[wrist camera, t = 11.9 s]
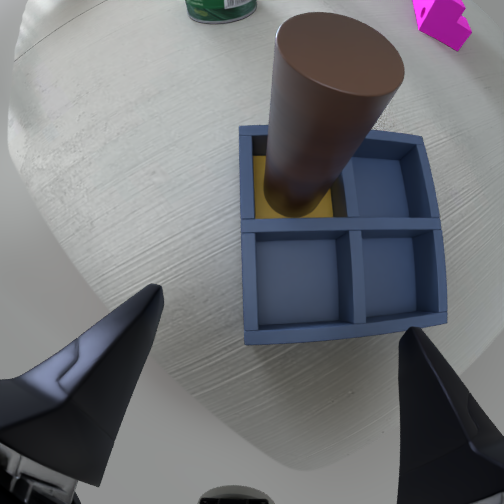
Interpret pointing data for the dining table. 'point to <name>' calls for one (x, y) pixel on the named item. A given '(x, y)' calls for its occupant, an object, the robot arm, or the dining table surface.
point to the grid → (343, 248)
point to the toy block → (443, 21)
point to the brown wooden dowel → (323, 104)
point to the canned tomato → (219, 10)
